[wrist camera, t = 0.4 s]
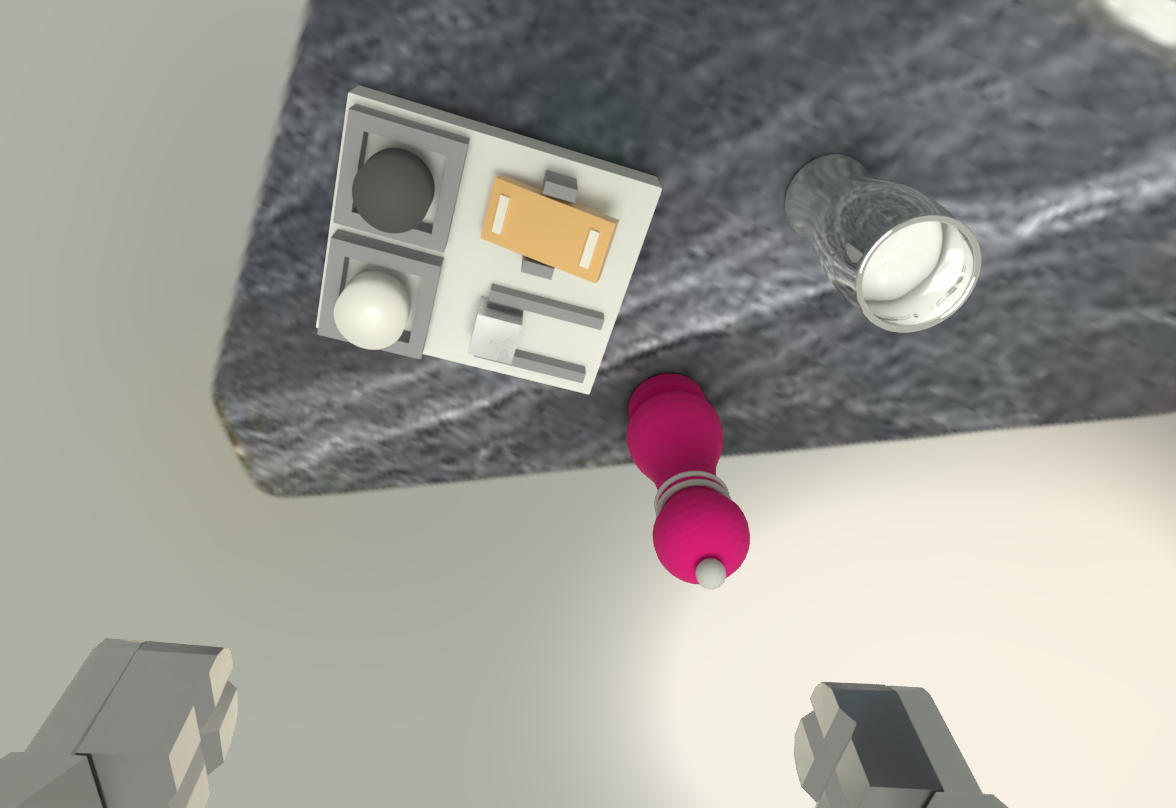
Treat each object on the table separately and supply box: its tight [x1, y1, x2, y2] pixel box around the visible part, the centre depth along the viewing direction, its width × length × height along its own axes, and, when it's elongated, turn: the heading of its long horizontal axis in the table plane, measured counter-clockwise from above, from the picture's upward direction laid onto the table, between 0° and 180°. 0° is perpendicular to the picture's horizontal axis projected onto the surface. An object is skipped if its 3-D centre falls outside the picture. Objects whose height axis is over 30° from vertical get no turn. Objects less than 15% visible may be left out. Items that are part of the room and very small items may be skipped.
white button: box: [334, 271, 411, 350], centre depth 48 cm, size 4×4×2 cm
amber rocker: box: [480, 175, 619, 284], centre depth 47 cm, size 4×8×2 cm, turn 73°
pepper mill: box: [627, 374, 750, 589], centre depth 52 cm, size 7×7×20 cm
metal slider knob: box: [468, 297, 523, 364], centre depth 51 cm, size 3×3×3 cm
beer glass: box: [785, 154, 981, 332], centre depth 46 cm, size 7×7×15 cm
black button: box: [352, 148, 435, 234], centre depth 44 cm, size 4×4×2 cm
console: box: [316, 85, 662, 394], centre depth 50 cm, size 16×20×6 cm
